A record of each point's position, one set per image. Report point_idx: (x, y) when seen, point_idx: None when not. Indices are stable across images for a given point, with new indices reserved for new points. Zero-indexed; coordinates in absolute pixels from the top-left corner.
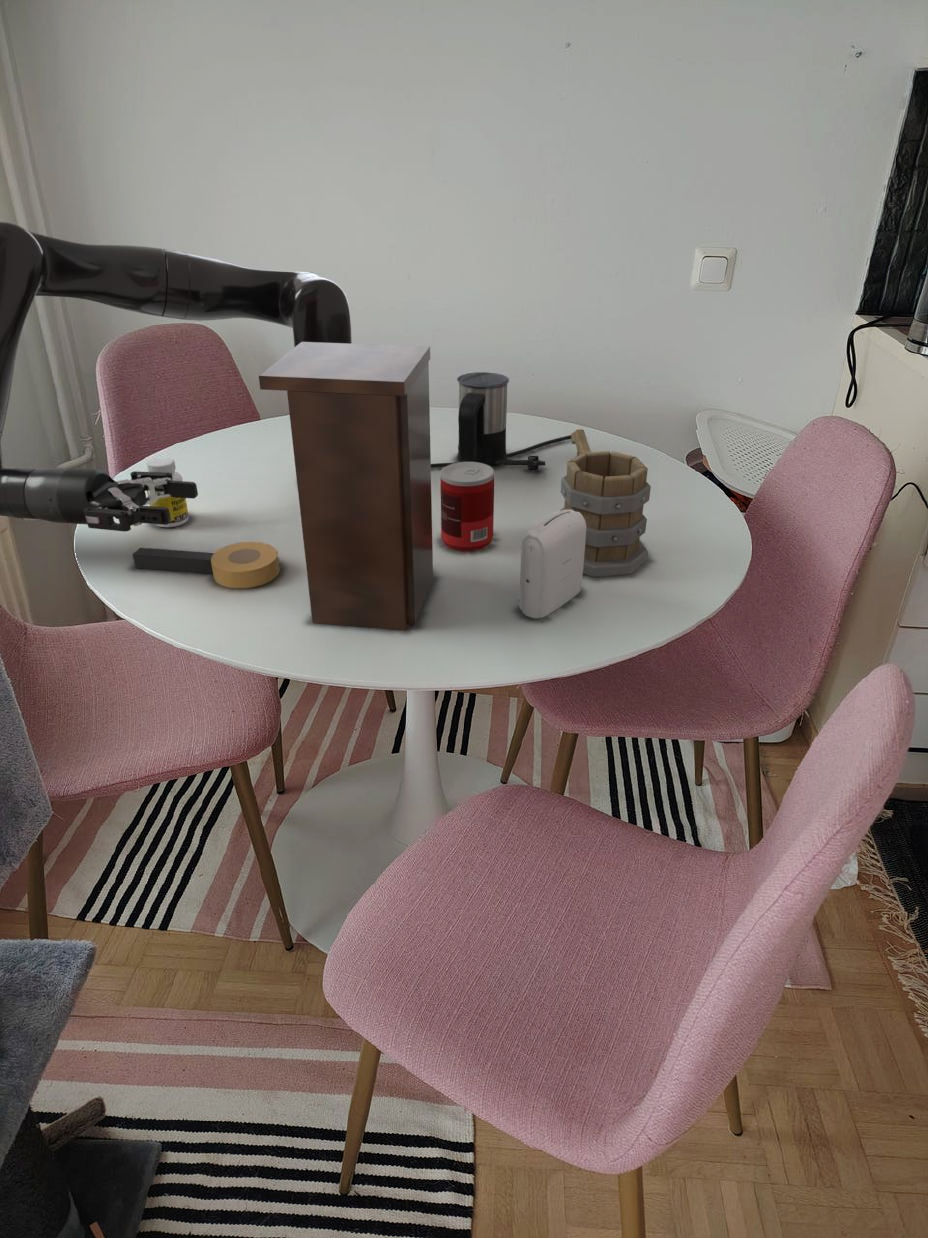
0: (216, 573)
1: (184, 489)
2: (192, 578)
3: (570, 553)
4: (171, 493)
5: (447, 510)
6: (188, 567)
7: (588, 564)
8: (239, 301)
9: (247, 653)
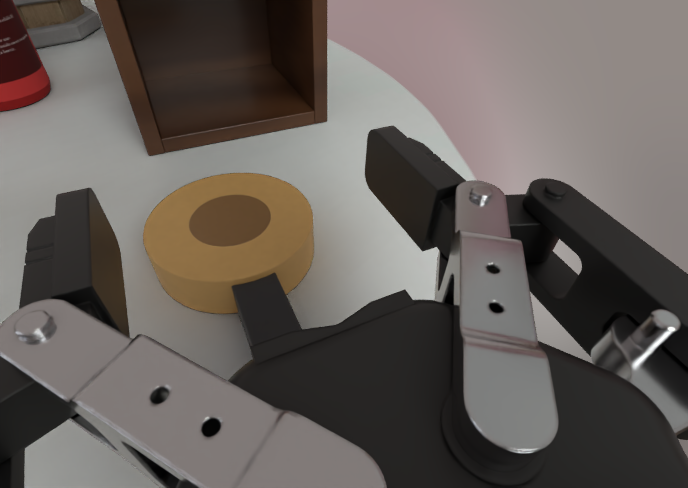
0: (310, 246)
1: (106, 244)
2: (323, 326)
3: None
4: (121, 330)
5: (7, 27)
6: None
7: (91, 14)
8: None
9: (435, 134)
